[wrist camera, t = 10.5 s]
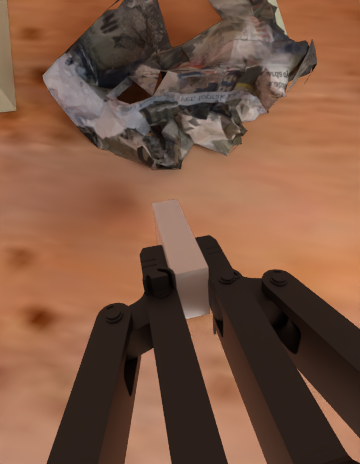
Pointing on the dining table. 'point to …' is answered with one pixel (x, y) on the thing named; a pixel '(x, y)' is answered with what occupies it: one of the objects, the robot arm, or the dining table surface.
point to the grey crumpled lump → (176, 79)
